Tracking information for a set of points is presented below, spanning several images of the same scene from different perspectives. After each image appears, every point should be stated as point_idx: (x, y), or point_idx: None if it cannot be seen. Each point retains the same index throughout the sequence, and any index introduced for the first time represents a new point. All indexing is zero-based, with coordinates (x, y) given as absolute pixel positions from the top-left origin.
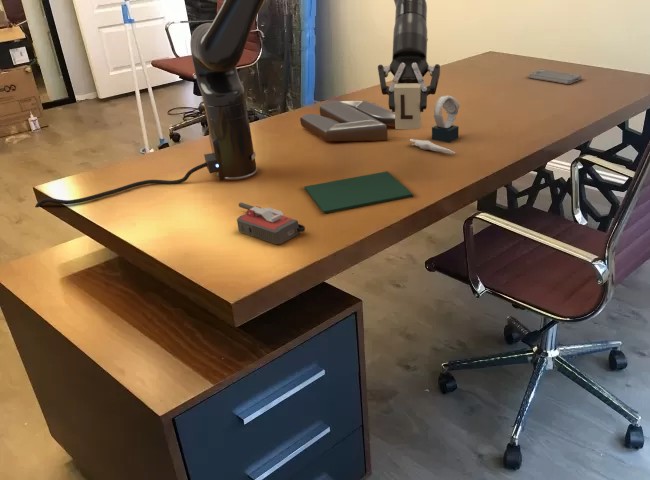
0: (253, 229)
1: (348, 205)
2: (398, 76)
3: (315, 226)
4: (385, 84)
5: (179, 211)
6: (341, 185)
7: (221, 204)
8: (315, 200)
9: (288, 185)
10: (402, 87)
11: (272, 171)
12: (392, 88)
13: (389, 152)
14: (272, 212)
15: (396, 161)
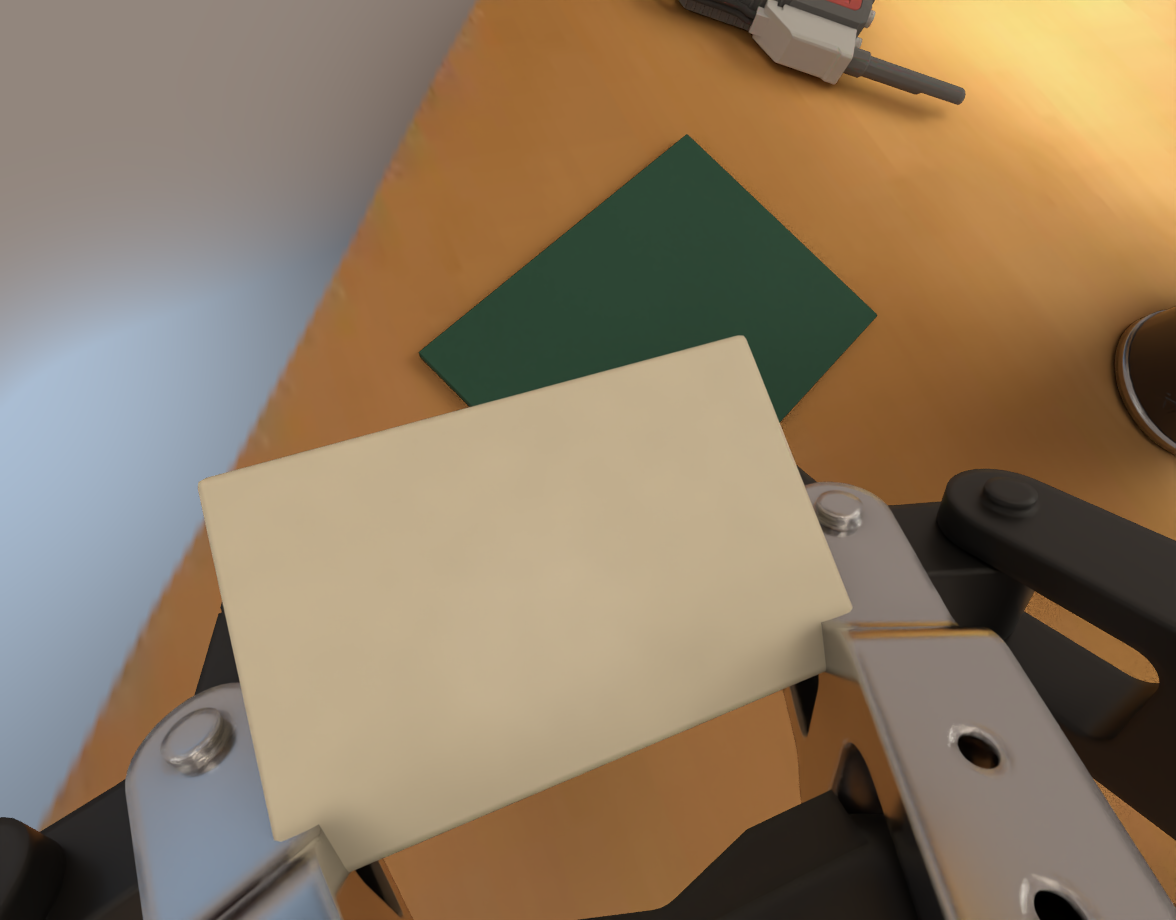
0: None
1: (627, 191)
2: (941, 755)
3: (660, 58)
4: (1013, 531)
5: (1092, 83)
6: None
7: (1027, 146)
8: (764, 208)
9: (944, 336)
10: (590, 375)
11: (1089, 448)
12: (825, 507)
13: None
14: (808, 3)
15: (666, 762)
